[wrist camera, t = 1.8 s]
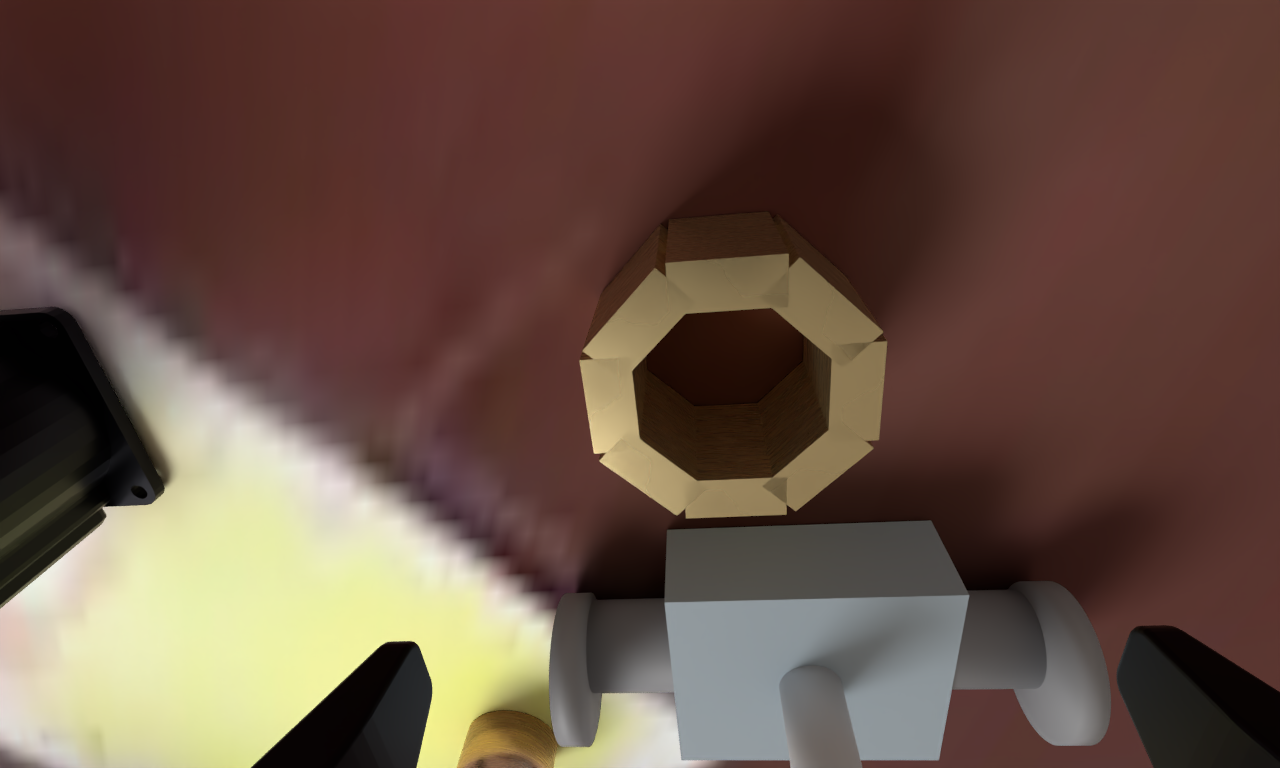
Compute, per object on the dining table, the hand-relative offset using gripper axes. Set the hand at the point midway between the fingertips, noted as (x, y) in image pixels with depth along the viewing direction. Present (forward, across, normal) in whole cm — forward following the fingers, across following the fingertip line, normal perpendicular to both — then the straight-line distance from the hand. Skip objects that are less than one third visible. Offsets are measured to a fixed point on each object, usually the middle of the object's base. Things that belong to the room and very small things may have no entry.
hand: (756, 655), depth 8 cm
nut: (+10, 0, 0) cm, 10 cm away
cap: (+10, +9, +17) cm, 22 cm away
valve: (+10, -2, +10) cm, 14 cm away
